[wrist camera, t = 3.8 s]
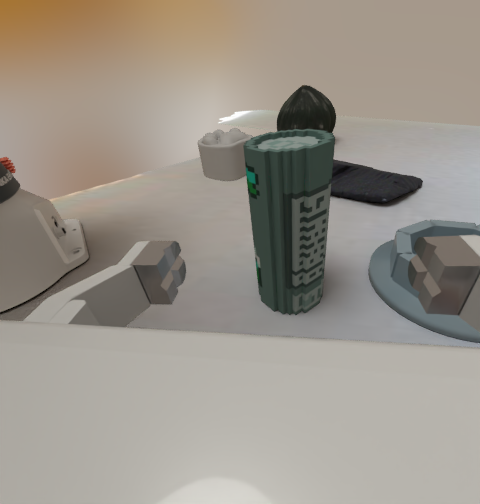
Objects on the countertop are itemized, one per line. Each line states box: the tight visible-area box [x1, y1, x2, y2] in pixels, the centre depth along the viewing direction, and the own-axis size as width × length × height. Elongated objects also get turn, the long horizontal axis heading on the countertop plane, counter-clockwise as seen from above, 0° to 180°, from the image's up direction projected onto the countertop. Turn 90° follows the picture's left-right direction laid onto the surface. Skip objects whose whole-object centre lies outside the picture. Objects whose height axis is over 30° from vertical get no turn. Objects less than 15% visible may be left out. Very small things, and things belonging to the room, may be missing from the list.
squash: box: [277, 85, 336, 133], centre depth 69 cm, size 14×15×15 cm
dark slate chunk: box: [330, 160, 423, 203], centre depth 47 cm, size 15×22×5 cm
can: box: [243, 129, 335, 315], centre depth 23 cm, size 6×6×15 cm
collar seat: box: [369, 220, 480, 343], centre depth 25 cm, size 14×14×4 cm
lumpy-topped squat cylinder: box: [198, 128, 253, 181], centre depth 60 cm, size 10×13×9 cm
